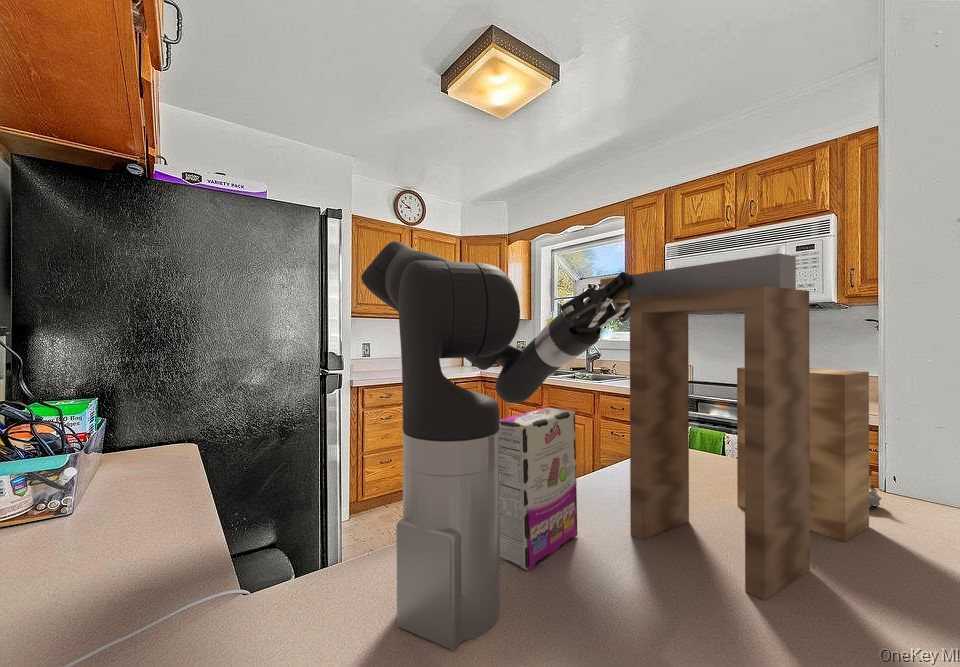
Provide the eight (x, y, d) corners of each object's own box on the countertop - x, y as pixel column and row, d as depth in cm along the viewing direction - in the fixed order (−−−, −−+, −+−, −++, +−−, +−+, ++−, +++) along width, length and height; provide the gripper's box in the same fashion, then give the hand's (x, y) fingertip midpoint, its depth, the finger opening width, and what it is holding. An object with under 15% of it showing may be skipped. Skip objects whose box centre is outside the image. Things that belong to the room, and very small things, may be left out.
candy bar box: (546, 525, 58) (545, 406, 58) (578, 536, 54) (578, 410, 54) (493, 557, 50) (492, 418, 50) (527, 573, 46) (526, 424, 46)
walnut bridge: (764, 600, 41) (763, 285, 41) (630, 534, 55) (629, 297, 55) (809, 570, 47) (809, 290, 46) (677, 516, 60) (676, 300, 60)
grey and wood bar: (795, 289, 45) (795, 256, 45) (779, 287, 43) (779, 253, 43) (616, 303, 65) (616, 280, 65) (600, 302, 63) (600, 279, 63)
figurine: (860, 511, 61) (863, 470, 62) (831, 500, 66) (834, 462, 66) (891, 515, 62) (895, 474, 62) (860, 504, 66) (864, 465, 67)
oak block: (869, 526, 57) (868, 371, 57) (845, 542, 53) (844, 375, 53) (763, 495, 68) (763, 365, 68) (737, 505, 64) (737, 367, 64)
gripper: (526, 318, 70) (593, 252, 58) (587, 319, 78) (658, 261, 65) (541, 358, 67) (614, 297, 54) (603, 355, 75) (681, 301, 62)
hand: (638, 278), depth 60 cm, fingers closed on grey and wood bar, 3 cm apart
